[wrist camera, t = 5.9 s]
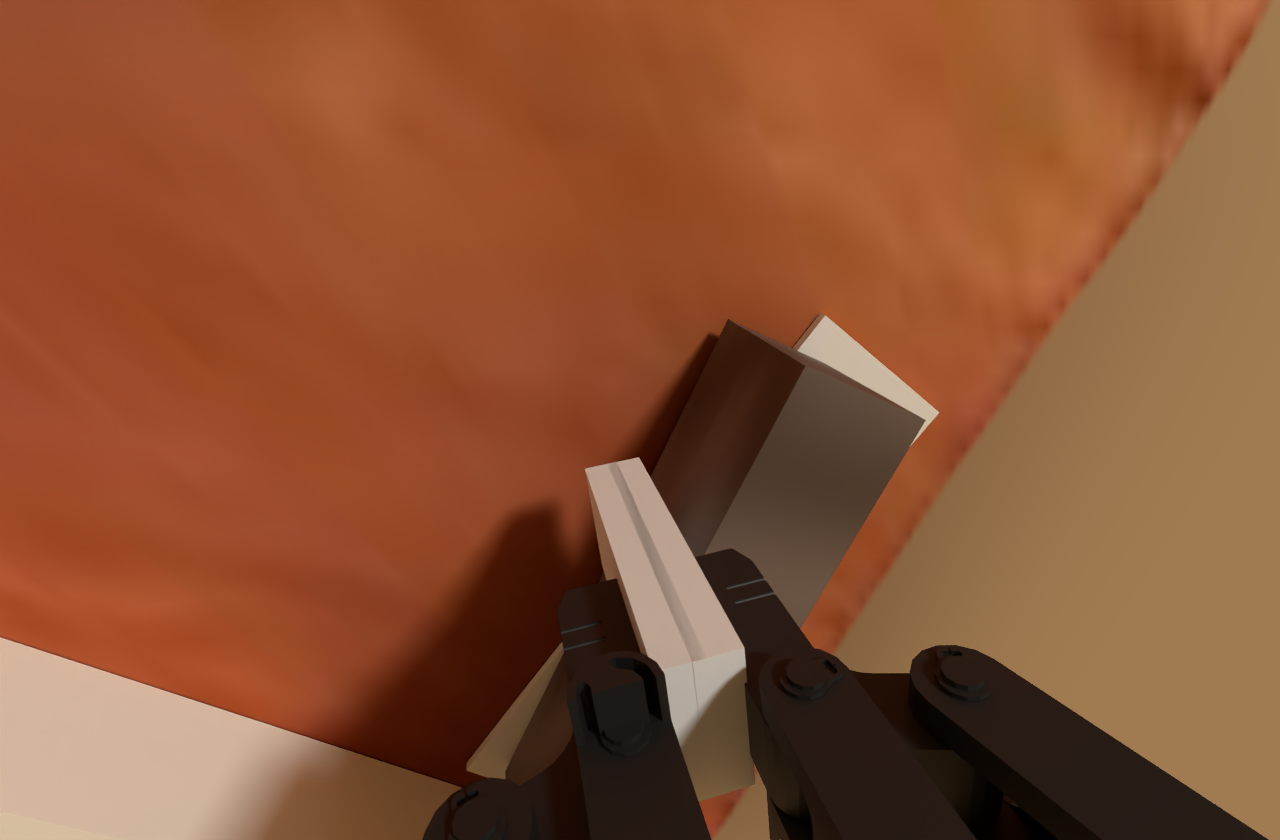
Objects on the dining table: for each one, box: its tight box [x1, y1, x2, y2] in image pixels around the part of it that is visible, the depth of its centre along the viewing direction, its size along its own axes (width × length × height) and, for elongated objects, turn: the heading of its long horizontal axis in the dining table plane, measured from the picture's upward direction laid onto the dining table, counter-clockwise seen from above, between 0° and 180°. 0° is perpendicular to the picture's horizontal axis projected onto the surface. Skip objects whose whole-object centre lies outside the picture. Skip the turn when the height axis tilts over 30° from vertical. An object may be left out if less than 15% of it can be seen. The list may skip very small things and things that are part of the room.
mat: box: [466, 313, 939, 779], centre depth 20 cm, size 5×18×1 cm, turn 143°
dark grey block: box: [505, 319, 926, 786], centre depth 16 cm, size 17×3×6 cm, turn 155°
